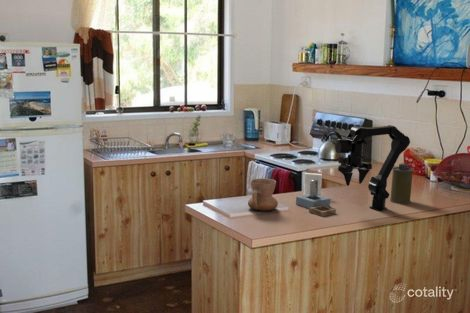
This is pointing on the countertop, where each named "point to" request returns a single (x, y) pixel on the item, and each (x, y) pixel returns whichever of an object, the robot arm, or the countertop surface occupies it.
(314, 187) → the cylinder
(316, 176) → the off-white rectangular block
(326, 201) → the slate-blue hub block
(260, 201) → the ceramic jug
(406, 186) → the canister
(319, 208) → the square wooden frame
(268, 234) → the countertop surface
